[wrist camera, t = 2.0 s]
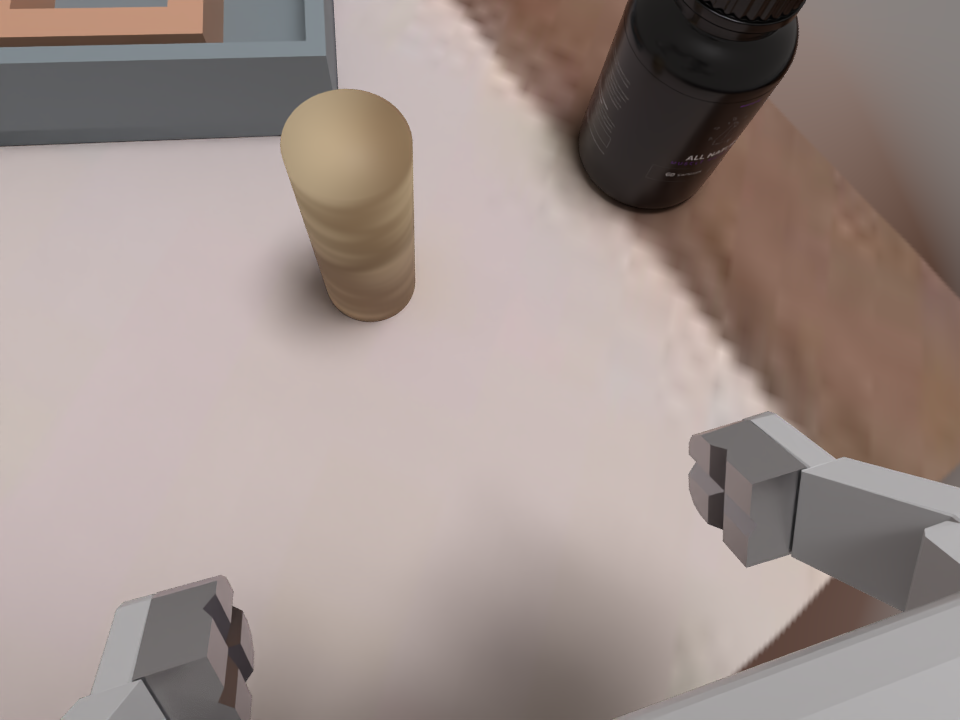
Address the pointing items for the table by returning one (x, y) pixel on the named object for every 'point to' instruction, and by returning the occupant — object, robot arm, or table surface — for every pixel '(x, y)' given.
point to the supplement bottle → (682, 92)
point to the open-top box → (159, 68)
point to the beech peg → (355, 198)
